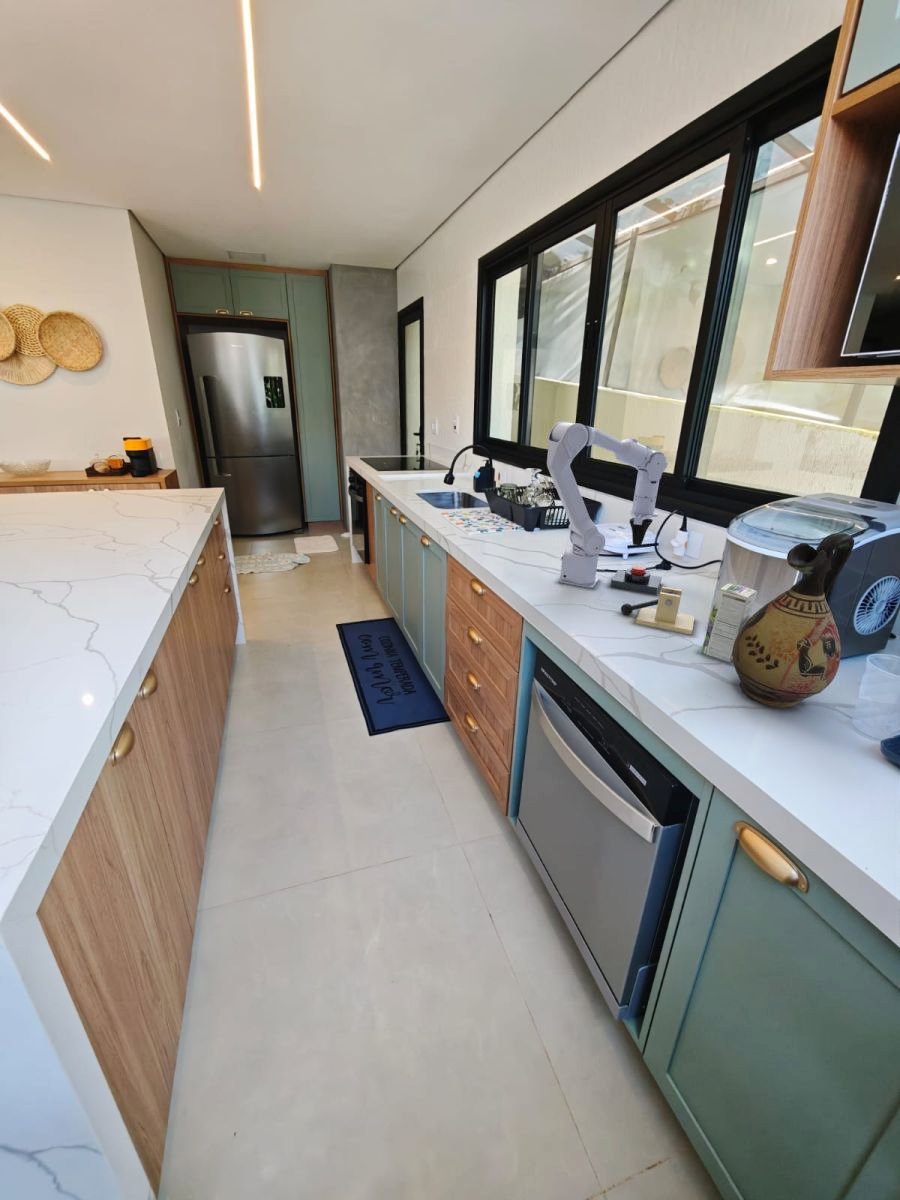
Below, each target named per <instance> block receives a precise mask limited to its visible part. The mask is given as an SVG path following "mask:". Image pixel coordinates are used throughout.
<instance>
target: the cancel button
mask: <svg viewBox="0 0 900 1200" xmlns="http://www.w3.org/2000/svg"><path fill="white" fill-rule="evenodd" d="M631 569H632V570H631V573H633V574H637V575H644V574H645V570H646V571H647V569H646V567H645V566H642V565H632V566H631Z"/></svg>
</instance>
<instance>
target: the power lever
mask: <svg viewBox="0 0 900 1200" xmlns="http://www.w3.org/2000/svg"><path fill="white" fill-rule="evenodd" d="M669 594H674V595H676V593H675V591H673V592H669ZM658 600H659V598H657V599H652V600H648V601H644V602H640V603H636V604H631V603H624V604H622V605H621V607H620V611H621V613H622V614H623V615H625V616H630V615H631V614H632V613H633V611H637V610H641V608H645V607H649V608H650V607H653V606H657V605H658Z"/></svg>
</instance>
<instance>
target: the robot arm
mask: <svg viewBox="0 0 900 1200" xmlns="http://www.w3.org/2000/svg"><path fill="white" fill-rule="evenodd" d="M638 441H639V440H638V439H637V438H633V437H631V438H625V439H622V440H619V439H617V438H615V437H614V436H611V435H610V434H608V433H606V432H604V431H601V430H600V429H598V428H596V427H592V426H589V425H584V424H582V423H580V422H579V423H574V422H568V421H565V420H564V421H563V420H562V421H557V422H556V423H555V424H554V425H553V426H552V428H551V429H550V431H549V433H548V436H547V444H548V448H547V457H546V466H547V467H546V468H547V469H548V472H549V474H550V477H551V480H552V482H553V485H554V487H555V489H556V491H557V494H558V496H559V499H560V501H561V504H562V506H563V509H564V511H565V514H566V517H567V519H568V521H569V525H568V529H569V541H570V543H571V544H572V549H565V550H564V552H563V555H562V558H561V559H562V560H561V568H560V577H559V583H561V584H566V585H571V586H578V587H582V588H587V589H594V587H595V586H596V585H597V583H598V582H599V580H600V579H599V578H597V577H596V576H597V571H598V562H599V556H600V553H601V552H602V551H603V550H604V548H605V547H606V538H605V536H604V535H603V534H602V533H601V532H600V531H599V530H598V527H597V525H596V524H595V523H594V522H593V519H591V517H590V515H589V512H588V509H587V507H586V504H585V502H584V499H583V497H582V494H581V491H580V488H579V486H578V484H577V481H576V478H575V476H574V473H573V470H572V468H571V464H572V462H573V460H574V459H575V457H577V455H578V454H579V453H580V452H581V451H582V450H583V448H585V446H586V447H590V446H592V445H593V446H596V447H599V448H602V449H604V450H607V451H609V452H611V453H613V454H614V456H615V459H616V460H617V461H618V462H621V463H624V464H626V465H628V466H630V467H633V468H635V469H636V470H637V475H636V476H637V477H636V481H635V482H636V483H635V489H634V494H633V502H632V507H631V511H630V515H631V516H632V517H631V518H630V519H629V525H630V527H631V534H632V536H631V537H632V538H631V539H632V545H634V546H641V545H642V544H643V542H644V539H645V536H646V533H647V531H648V529H649V527H650V525H651V524H652V523H653V519H652V518H658V516H659V513H657V512H655V508H656V501H657V496H658V490H659V484H660V480H661V479H662V475H663V473H664V472H665V470H666V469H667V466H668V462H667V457H666V456H665V453H664V452H661V451H657V450H653V448H652V446H650V445H643V444H641V443H640V442H638Z"/></svg>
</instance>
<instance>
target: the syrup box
mask: <svg viewBox="0 0 900 1200" xmlns="http://www.w3.org/2000/svg"><path fill="white" fill-rule="evenodd" d="M757 594H758V590H755V589H752V588H749V587H746V586H744V585H738V584H734V583H727V584H725V585H724V586H723V587H721V588H719V589H718V590H717V591H716V595H715V599H714V601H713V602H714V603H713V606H712V611H711V614H710V618H709V621H708V625H707V629H706V634H705V636H704V640H703V643H702V647H701V651H700V652H701V654H704V655H706V656H709V657H712V658H715V659H718V660H721V661H724V662H728V663H731V662H733V656H732V651H733V645H734V642H735V639H736V637H737V635H738V634H739V632H740V631H741V629H742V628H743V626H744V625H745V623H746V622H747V621H748V620H749V619H750V617H751V616H752V612H753V608H754V603H755V602H756V598H757Z"/></svg>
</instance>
